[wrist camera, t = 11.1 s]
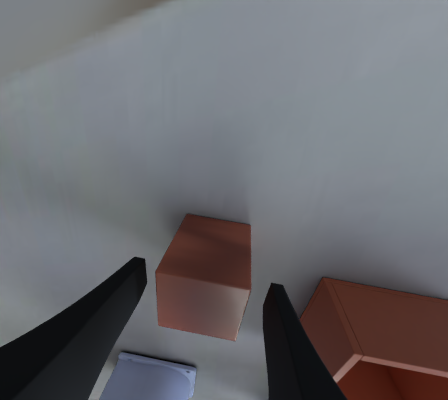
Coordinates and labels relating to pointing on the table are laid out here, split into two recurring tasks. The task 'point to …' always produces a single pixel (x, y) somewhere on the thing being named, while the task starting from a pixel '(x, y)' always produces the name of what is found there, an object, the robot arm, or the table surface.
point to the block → (205, 277)
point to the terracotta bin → (380, 341)
